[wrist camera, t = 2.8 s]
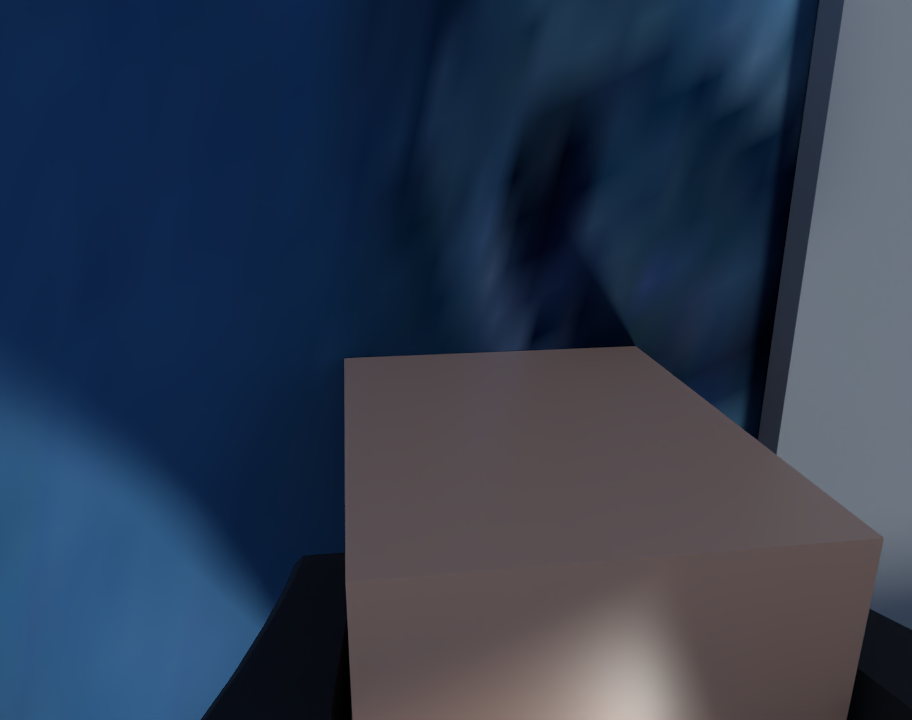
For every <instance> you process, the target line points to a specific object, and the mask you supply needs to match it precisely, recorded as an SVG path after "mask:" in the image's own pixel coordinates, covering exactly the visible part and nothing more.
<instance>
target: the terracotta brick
mask: <svg viewBox="0 0 912 720" xmlns="http://www.w3.org/2000/svg"><path fill="white" fill-rule="evenodd" d="M344 409H345V583H346V603H347V623H348V642H349V662H350V682H351V701H352V720H847V715H848V710H849V705H850V701H851V696H852V691H853V686H854V681H855V676H856V672H857V667H858V662H859V657H860V652H861V647H862V643H863V638H864V633H865V628H866V623H867V618H868V614H869V609H870V604H871V599H872V594H873V589H874V584H875V580H876V575H877V570H878V565H879V560H880V555H881V551H882V546H883V541H884V538H883V537H882V536H881V535H880V534H878V533H877V532H876V531H874V530H873V529H872V528H871V527H869V526H868V525H867V524H865V523H864V522H863V521H861V520H860V519H859V518H858V517H856V516H855V515H854V514H852V513H851V512H850V511H848V510H847V509H846V508H845V507H843V506H842V505H841V504H839V503H838V502H837V501H836V500H834V499H833V498H832V497H830V496H829V495H828V494H826V493H825V492H824V491H823V490H821V489H820V488H819V487H817V486H816V485H815V484H814V483H812V482H811V481H810V480H808V479H807V478H806V477H804V476H803V475H802V474H801V473H799V472H798V471H797V470H795V469H794V468H793V467H791V466H790V465H789V464H788V463H786V462H785V461H784V460H782V459H781V458H780V457H779V456H777V455H776V454H775V453H773V452H772V451H771V450H769V449H768V448H767V447H766V446H764V445H763V444H762V443H760V442H759V441H758V440H756V439H755V438H754V437H753V436H751V435H750V434H749V433H747V432H746V431H745V430H744V429H742V428H741V427H740V426H738V425H737V424H736V423H734V422H733V421H732V420H731V419H729V418H728V417H727V416H725V415H724V414H723V413H722V412H720V411H719V410H718V409H716V408H715V407H714V406H712V405H711V404H710V403H709V402H707V401H706V400H705V399H703V398H702V397H701V396H699V395H698V394H697V393H696V392H694V391H693V390H692V389H690V388H689V387H688V386H687V385H685V384H684V383H683V382H681V381H680V380H679V379H677V378H676V377H675V376H674V375H672V374H671V373H670V372H668V371H667V370H666V369H665V368H663V367H662V366H661V365H659V364H658V363H657V362H655V361H654V360H653V359H652V358H650V357H649V356H648V355H646V354H645V353H644V352H642V351H641V350H640V349H639V348H637V347H636V346H627V347H603V348H579V349H555V350H530V351H506V352H482V353H458V354H434V355H409V356H385V357H361V358H344Z"/></svg>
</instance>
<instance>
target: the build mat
mask: <svg viewBox="0 0 912 720" xmlns="http://www.w3.org/2000/svg"><path fill="white" fill-rule="evenodd" d="M758 441H759V442H760V443H762V444H763V445H764V446H766V447H767V448H768V449H769V450H771V451H772V452H773V453H775V454H776V455H777V456H779V457H780V458H781V459H782V460H784V461H785V462H786V463H788V464H789V465H790V466H791V467H793V468H794V469H795V470H797V471H798V472H799V473H801V474H802V475H803V476H804V477H806V478H807V479H808V480H810V481H811V482H812V483H814V484H815V485H816V486H817V487H819V488H820V489H821V490H823V491H824V492H825V493H826V494H828V495H829V496H830V497H832V498H833V499H834V500H836V501H837V502H838V503H839V504H841V505H842V506H843V507H845V508H846V509H847V510H848V511H850V512H851V513H852V514H854V515H855V516H856V517H858V518H859V519H860V520H861V521H863V522H864V523H865V524H867V525H868V526H869V527H871V528H872V529H873V530H874V531H876V532H877V533H878V534H880V535H881V536H882V537H883V538H884V541H883V546H882V551H881V555H880V560H879V565H878V570H877V575H876V580H875V584H874V589H873V594H872V599H871V604H870V609H872V610H874V611H876V612H878V613H880V614H881V615H883V616H885V617H887V618H889V619H891V620H893V621H895V622H897V623H899V624H901V625H903V626H905V627H907V628H909V629H911V630H912V0H819V7H818V14H817V21H816V29H815V36H814V43H813V50H812V57H811V64H810V71H809V79H808V86H807V93H806V100H805V107H804V114H803V121H802V129H801V136H800V143H799V150H798V157H797V164H796V171H795V179H794V186H793V193H792V200H791V207H790V214H789V221H788V229H787V236H786V243H785V250H784V257H783V264H782V271H781V279H780V286H779V293H778V300H777V307H776V314H775V321H774V329H773V336H772V343H771V350H770V357H769V364H768V371H767V379H766V386H765V393H764V400H763V407H762V414H761V421H760V429H759V436H758Z"/></svg>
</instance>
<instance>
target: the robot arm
mask: <svg viewBox="0 0 912 720" xmlns="http://www.w3.org/2000/svg"><path fill="white" fill-rule="evenodd" d="M201 720H352V701H351V682H350V662H349V642H348V623H347V603H346V583H345V553H335V554H322V555H309V556H303V557H302V558H301V559H300V560H299V561H298V562H297V563H296V564H295V566H294V568H293V570H292V573H291V575H290V577H289V579H288V582H287V584H286V586H285V588H284V590H283V592H282V594H281V596H280V597H279V599H278V601H277V603H276V605H275V607H274V608H273V610H272V612H271V614H270V615H269V617H268V619H267V621H266V623H265V624H264V626H263V628H262V629H261V631H260V632H259V634H258V636H257V637H256V639H255V640H254V642H253V644H252V645H251V647H250V648H249V650H248V652H247V653H246V655H245V656H244V658H243V660H242V661H241V663H240V664H239V666H238V668H237V669H236V671H235V672H234V674H233V675H232V677H231V678H230V680H229V681H228V682H227V684H226V685H225V687H224V688H223V689H222V691H221V692H220V694H219V695H218V696H217V698H216V699H215V701H214V702H213V703H212V705H211V706H210V708H209V709H208V710H207V712H206V713H205V714H204V716H203V717H202V719H201ZM847 720H912V630H911V629H909V628H907V627H905V626H903V625H901V624H899V623H897V622H895V621H893V620H891V619H889V618H887V617H885V616H883V615H881V614H880V613H878V612H876V611H874V610H872V609H869V614H868V618H867V623H866V628H865V633H864V638H863V643H862V647H861V652H860V657H859V662H858V667H857V672H856V676H855V681H854V686H853V691H852V696H851V701H850V705H849V710H848V715H847Z"/></svg>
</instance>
